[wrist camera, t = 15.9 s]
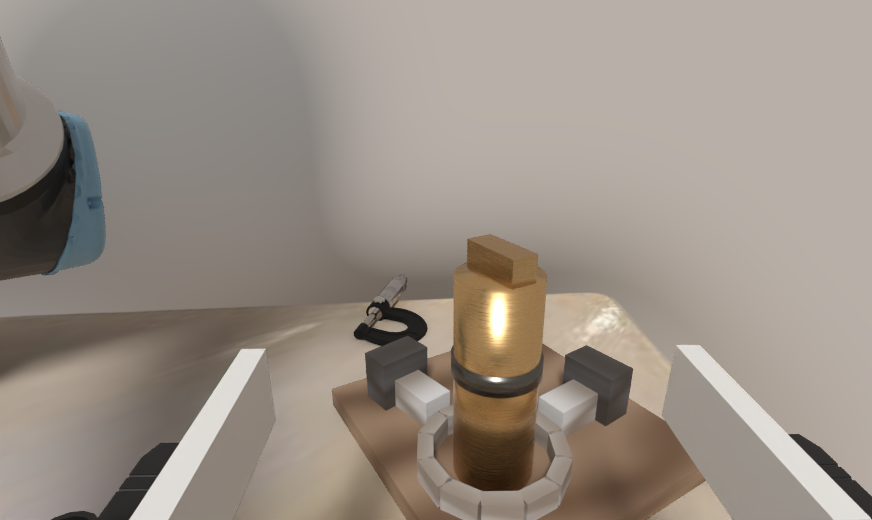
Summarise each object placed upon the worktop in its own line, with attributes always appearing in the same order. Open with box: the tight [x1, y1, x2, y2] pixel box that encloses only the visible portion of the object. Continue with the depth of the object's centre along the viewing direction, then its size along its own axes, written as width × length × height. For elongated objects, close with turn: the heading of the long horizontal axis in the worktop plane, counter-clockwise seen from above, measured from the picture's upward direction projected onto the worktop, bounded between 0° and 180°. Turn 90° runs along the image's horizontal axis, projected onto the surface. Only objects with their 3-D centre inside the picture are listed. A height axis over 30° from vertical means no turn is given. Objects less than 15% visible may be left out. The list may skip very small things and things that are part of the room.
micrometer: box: [354, 275, 427, 346], centre depth 55 cm, size 15×7×3 cm, turn 166°
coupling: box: [451, 234, 547, 491], centre depth 29 cm, size 5×5×15 cm
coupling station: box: [332, 336, 706, 520], centre depth 35 cm, size 20×19×5 cm
